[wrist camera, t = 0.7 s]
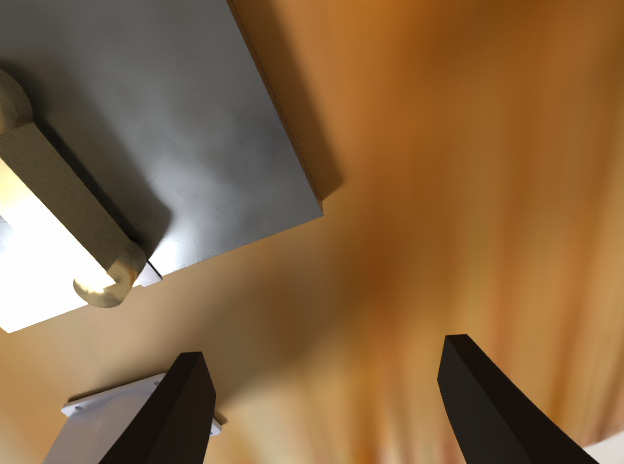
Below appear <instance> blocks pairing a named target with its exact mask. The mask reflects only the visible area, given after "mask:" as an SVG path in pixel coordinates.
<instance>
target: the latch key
mask: <svg viewBox="0 0 624 464" xmlns="http://www.w3.org/2000/svg"><path fill="white" fill-rule="evenodd" d="M0 215H1V216H2V217H3V218H4V219H5V220H6V221H7V222H8V223H9V224H10V225H11V226H12V227H13V228H14V229H15V230H17V231H18V232H19V233H20V234H21V235H22V236H23V237H24V238H25V239H26V240H27V241H28V242H29V243H30V244H31V245H32V246H33V247H34V248H35V249H36V250H37V251H38V252H39V253H40V254H41V255H42V256H43V257H44V258H45V259H46V260H47V261H48V262H49V263H50V264H51V265H52V266H53V267H54V268H55V269H56V270H57V271H58V272H59V273H60V274H61V275H62V276H63V277H64V278H65V279H66V280H67V281H68V282H69V283H70V284H71V285H72V286H73V289H74V291H75V293H76V294H77V295H78V296H79V297H80V298H81V299H82V300H83V301H85V302H86V303H88V304H90V305H93V306H96V307H101V308H111V307H115V306H118V305H119V304H121V303H122V302H123V301H124V299H125V297H126V296H127V294H128V293H129V291H130V290H131V288H132V286H133V285H134V283H135V282H136V280H137V278H138V277H139V275H140V274H141V272H142V271H143V269H144V267H145V266H146V263H147V258H146V255H145V253H144V251H143V250H142V248H141V247H140V246H138V245H137V244H136V243H134V242H132V241H131V240H130V239H129V238H128V237H127V236H126V234H125V233H124V232H123V231H122V229H121V228H120V227H119V226H118V225H117V223H116V222H115V221H114V220H113V219H112V217H111V216H110V215H109V214H108V213H107V211H106V210H105V209H104V208H103V206H102V205H101V204H100V203H99V202H98V200H97V199H96V198H95V197H94V196H93V194H92V193H91V192H90V191H89V190H88V188H87V187H86V186H85V185H84V183H83V182H82V181H81V180H80V179H79V177H78V176H77V175H76V174H75V173H74V171H73V170H72V169H71V168H70V167H69V165H68V164H67V163H66V162H65V160H64V159H63V158H62V157H61V156H60V154H59V153H58V152H57V151H56V150H55V148H54V147H53V146H52V145H51V144H50V142H49V141H48V140H47V139H46V137H45V136H44V135H43V134H42V133H41V131H40V130H39V129H38V128H37V127H36V125H35V124H34V123H33V110H32V106H31V103H30V101H29V99H28V97H27V95H26V93H25V92H24V90H23V89H22V87H21V86H20V85H19V84H18V83H17V82H16V81H15V80H14V79H13V78H12V77H11V76H10V75H9V74H7V73H6V72H5V71H3V70H2V69H0Z"/></svg>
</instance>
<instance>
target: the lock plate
mask: <svg viewBox="0 0 624 464" xmlns="http://www.w3.org/2000/svg"><path fill="white" fill-rule="evenodd" d="M0 69H2V70H3V71H5V72H6V73H7V74H9V75H10V76H11V77H12V78H13V79H14V80H15V81H16V82H17V83H18V84H19V85H20V86H21V87H22V89H23V90H24V92H25V93H26V95H27V97H28V99H29V101H30V103H31V106H32V110H33V123H34V124H35V125H36V127H37V128H38V129H39V130H40V131H41V133H42V134H43V135H44V136H45V137H46V139H47V140H48V141H49V142H50V144H51V145H52V146H53V147H54V148H55V150H56V151H57V152H58V153H59V154H60V156H61V157H62V158H63V159H64V160H65V162H66V163H67V164H68V165H69V167H70V168H71V169H72V170H73V171H74V173H75V174H76V175H77V176H78V177H79V179H80V180H81V181H82V182H83V183H84V185H85V186H86V187H87V188H88V190H89V191H90V192H91V193H92V194H93V196H94V197H95V198H96V199H97V200H98V202H99V203H100V204H101V205H102V206H103V208H104V209H105V210H106V211H107V213H108V214H109V215H110V216H111V217H112V219H113V220H114V221H115V222H116V223H117V225H118V226H119V227H120V228H121V229H122V231H123V232H124V233H125V234H126V236H127V237H128V238H129V239H130V240H131V241H132V242H134V243H136V244H137V245H138V246H140V247H141V248H142V250H143V251H144V253H145V255H146V258H147V263H146V266H145V267H144V269H143V271H142V272H141V274H140V275H139V277H138V278H137V280H136V282H135V283H134V285H133V286H132V287H134V286H136V285H139V284H141V285H142V286H143V287H145V286H148V285H151V284H154V283H156V282H159V281H162V280H163V279H162V278H161V276H163V275H166V274H168V273H171V272H174V271H176V270H179V269H182V268H184V267H187V266H190V265H193V264H195V263H198V262H201V261H203V260H206V259H209V258H211V257H214V256H217V255H219V254H222V253H225V252H227V251H230V250H233V249H235V248H238V247H241V246H243V245H246V244H249V243H251V242H254V241H257V240H259V239H262V238H265V237H267V236H270V235H273V234H275V233H278V232H281V231H283V230H286V229H289V228H292V227H294V226H297V225H300V224H302V223H305V222H308V221H310V220H313V219H316V218H318V217H321V216H323V207H322V201H321V199H320V196H319V194H318V192H317V190H316V187H315V185H314V183H313V181H312V178H311V176H310V174H309V172H308V169H307V167H306V165H305V163H304V160H303V158H302V156H301V154H300V151H299V149H298V147H297V145H296V143H295V140H294V138H293V136H292V134H291V131H290V129H289V127H288V125H287V122H286V120H285V118H284V116H283V113H282V111H281V109H280V107H279V104H278V102H277V100H276V98H275V95H274V93H273V91H272V89H271V86H270V84H269V82H268V80H267V78H266V75H265V73H264V71H263V69H262V66H261V64H260V62H259V60H258V57H257V55H256V53H255V51H254V48H253V46H252V44H251V42H250V39H249V37H248V35H247V33H246V30H245V28H244V26H243V24H242V21H241V19H240V17H239V15H238V12H237V10H236V8H235V6H234V4H233V1H232V0H0ZM85 304H88V303H86V302H85V301H83V300H82V299H81V298H80V297H79V296H78V295H77V294H76V293H75V291H74V289H73V286H72V285H71V284H70V283H69V282H68V281H67V280H66V279H65V278H64V277H63V276H62V275H61V274H60V273H59V272H58V271H57V270H56V269H55V268H54V267H53V266H52V265H51V264H50V263H49V262H48V261H47V260H46V259H45V258H44V257H43V256H42V255H41V254H40V253H39V252H38V251H37V250H36V249H35V248H34V247H33V246H32V245H31V244H30V243H29V242H28V241H27V240H26V239H25V238H24V237H23V236H22V235H21V234H20V233H19V232H18V231H17V230H15V229H14V228H13V227H12V226H11V225H10V224H9V223H8V222H7V221H6V220H5V219H4V218H3V217H2V216H1V215H0V327H2V328H3V329H4V330H5V331H7V332H8V333H11V332H13V331H16V330H19V329H21V328H24V327H27V326H29V325H32V324H35V323H37V322H40V321H43V320H45V319H48V318H51V317H53V316H56V315H59V314H61V313H64V312H67V311H69V310H72V309H75V308H77V307H80V306H83V305H85Z"/></svg>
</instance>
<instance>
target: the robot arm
mask: <svg viewBox="0 0 624 464" xmlns="http://www.w3.org/2000/svg"><path fill="white" fill-rule="evenodd" d="M437 381H438V385H439V388H440V392H441V396H442V399H443V403H444V406H445V409H446V413H447V416H448V419H449V421H450V424H451V426H452V429H453V431H454V434H455V436H456V439H457V441H458V444H459V446H460V448H461V451H462V453H463V456H464V458H465V461H466V463H467V464H599V463H598V462H597V461H596V460H595V459H593V458H592V457H591V456H590V455H588V454H587V453H586V452H585V451H584V450H583V449H582V448H581V447H580V446H579V445H577V444H576V443H575V442H574V441H573V440H572V439H571V438H570V437H568V436H567V435H566V434H565V433H564V432H563V431H562V430H561V429H560V428H559V427H558V426H557V425H555V424H554V423H553V422H552V421H551V420H550V419H549V418H548V417H547V416H546V415H545V414H544V413H543V412H542V411H541V410H540V409H539V408H537V407H536V406H535V405H534V404H533V403H532V402H531V401H530V400H529V399H528V398H527V397H526V396H525V395H524V394H523V393H522V392H521V391H520V390H519V389H518V388H517V387H516V386H515V385H514V384H513V383H512V382H511V380H510V379H509V378H508V377H507V376H506V375H505V374H504V373H503V372H502V371H501V370H500V369H499V368H498V367H497V366H496V365H495V364H494V363H493V362H492V361H491V359H490V358H489V357H488V356H487V355H486V354H485V353H484V352H483V351H482V350H481V349H480V348H479V346H478V345H477V344H476V343H475V342H474V341H473V340H472V339H471V338H470V337H469V336H468V335H467V334H460V335H446V336H445V341H444V346H443V352H442V357H441V362H440V367H439V372H438V378H437ZM215 399H216V392H215V389H214V386H213V383H212V380H211V377H210V375H209V372H208V369H207V366H206V363H205V360H204V357H203V354H202V352H187V353H181V354H180V355H179V356H178V357H177V359H176V360H175V362H174V363H173V364H172V366H171V367H170V369H169V370H168V372H167V373H162V374H158V375H155V376H152V377H149V378H146V379H143V380H139V381H136V382H133V383H130V384H127V385H123V386H120V387H117V388H114V389H111V390H108V391H104V392H101V393H98V394H95V395H92V396H88V397H85V398H82V399H79V400H76V401H73V402H69V403H66V404H64V406H63V407H62V409H61V411H62V412H63V413H64V414H65V415H66V416H68V419H67V421H66V423H65V424H64V426H63V428H62V429H61V431H60V433H59V435H58V436H57V438H56V440H55V441H54V443H53V445H52V446H51V448H50V450H49V452H48V453H47V455H46V457H45V458H44V460H43V462H42V464H203V461H204V457H205V453H206V449H207V445H208V441H209V437H210V436H214V435H218V434H220V433H221V430H222V427H221V425H220V424H219V423H218V422H217V421H216V420H215V419H214V418H213V414H214V407H215Z"/></svg>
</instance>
